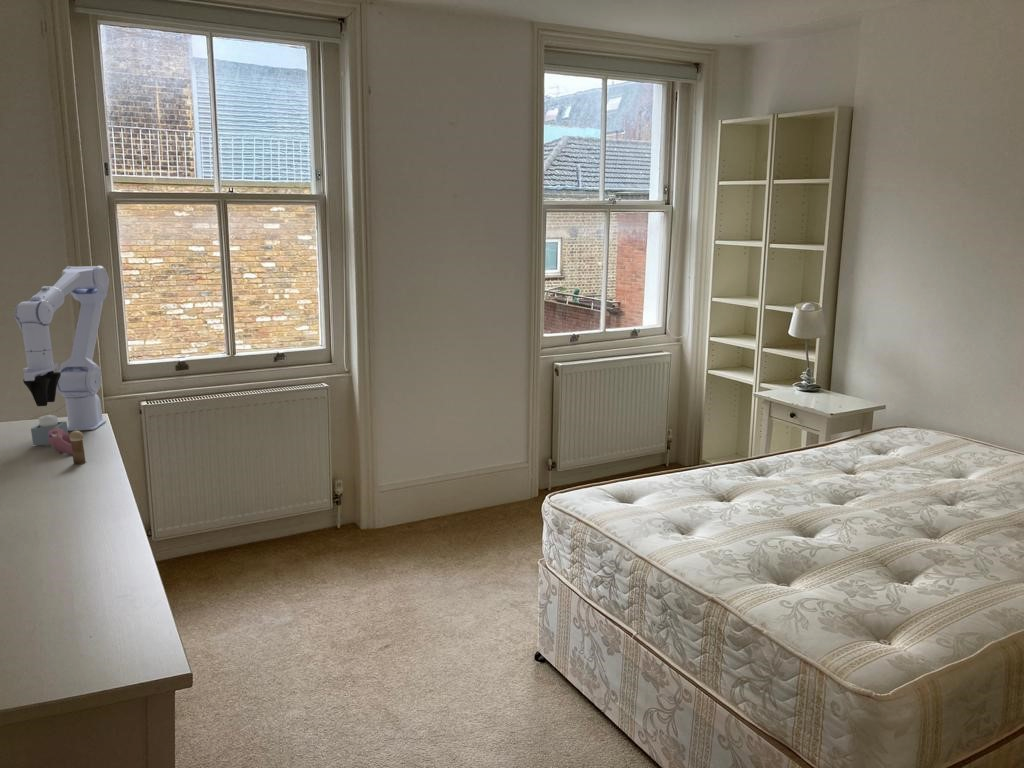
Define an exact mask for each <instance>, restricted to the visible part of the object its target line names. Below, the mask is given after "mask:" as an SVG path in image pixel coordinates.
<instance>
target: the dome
mask: <svg viewBox="0 0 1024 768" xmlns="http://www.w3.org/2000/svg"><path fill="white" fill-rule="evenodd" d="M38 422H39V423H38V424H40V427H55V426H57V425H58V422H59V421H58V416H57V415H54V414H47V415H44V416H40V417H38Z"/></svg>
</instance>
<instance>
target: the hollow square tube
mask: <svg viewBox="0 0 1024 768" xmlns="http://www.w3.org/2000/svg"><path fill="white" fill-rule="evenodd" d="M67 427H68V421H58V425H57V426H55V427H40V424H39V423H38V424H36V425H35V426H32V427H31V428H30V431H31V438H32V446H33V445H46V446H51V444H50V443H49V441H48V439H47V438H48V437H49V435H48V432H49V431H50V430H52V429H54V428H59V429H62V430H63V431H64V432H66V433H67V434H69V431H68V429H67Z"/></svg>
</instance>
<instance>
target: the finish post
mask: <svg viewBox="0 0 1024 768" xmlns="http://www.w3.org/2000/svg"><path fill="white" fill-rule="evenodd" d="M69 435H70V436H69V438H70V440H71V446H72V453H73V455H72V459H73V461H72V462H73V465H82V463H83V464H85V463H86V461H87V460H86V455H85V447H84V434H83V433H82V431H81V430H77V431H71V432H70V433H69Z"/></svg>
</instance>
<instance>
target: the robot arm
mask: <svg viewBox="0 0 1024 768" xmlns="http://www.w3.org/2000/svg"><path fill="white" fill-rule="evenodd" d="M109 277H110V276H109V274H108V271H107V270H106V268H105V266H102V265H97V266H96V265H93V266H92V265H91V266H86V265H85V266H71V265H68V266H66V267H65V268H64V269H63V270H62V271H61V277H60V278H59V279H58V280H57V281H56V282H55V283H54V285H52V286H51V285H48V286H47V285H42V287H41V288H40V291H38V292H37V293H36V294H35V295H32V296H31V298H30V299H29V300H28V301H21V302H20V303H19V304H17V305H16V307H15V310H14V314H13V316H14V320H15V321H16V323H17V324H18V328H19V331H20V332H21V333H22V338H23V345H24V346H23V347H24V351H25V358H26V360H25V361H26V365H27V366H26V367H24V368H22V372H23V373H22V374H23V384H24V385H25V386H26V387H27V389H28V390H29V392H30V393H31V395H32V398H33V400H34V402H35V405H36V406H37V407H46V406H48V403H54V402H55V401H56V395H57V392H58V393H59V394H61V397H63V398H64V400H65V401H64V402H65V408H66V414H67V415H66V416H67V429H68V432H70V431H71V432H73V431H93V430H96V429H97V428H99V427H100V426H102V425H103V424H105V423H106V422H107V419H103V411H102V404H101V398H100V397H99V395H98V392H99V391H100V389H101V387H102V378H101V377H102V376H101V375H102V373H101V372H102V369H101V367H100V366H99V365H98V364H97V363H96V362H94V360H93V359H94V354H95V349H96V343H97V338H98V331H99V327H100V321H101V315H102V310H103V305H104V301H105V300H106V299H107V295H108V290H109V285H110V278H109ZM69 294H70V295H71V296H72V298H73V299H74V300H76V301H78V302H79V303H80V308H79V311H78V319H77V325H76V328H75V334H74V338H73V343H72V349H71V355H70V357H69V358H68V359H66V360H65V361H64V362H62V363H61V364H60V368H59V363H58V362H54V355H53V348H52V339H51V334H50V326H49V325H50V324H51V322H52V321H53V317H54V314H55V312H56V311H57V310H58V309H59V308H60V307H61V306H62V305H64V303H65V297H66V296H67V295H69ZM54 371H56V372H54Z"/></svg>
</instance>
